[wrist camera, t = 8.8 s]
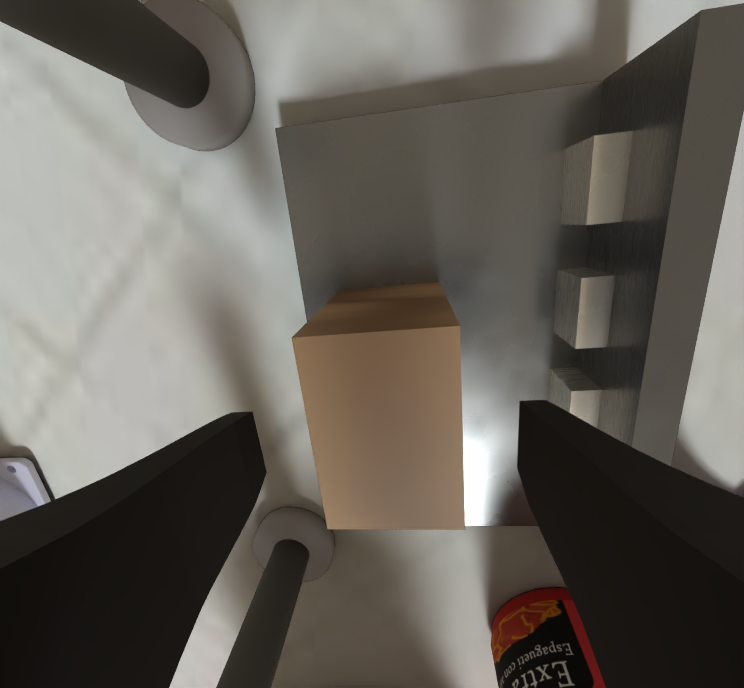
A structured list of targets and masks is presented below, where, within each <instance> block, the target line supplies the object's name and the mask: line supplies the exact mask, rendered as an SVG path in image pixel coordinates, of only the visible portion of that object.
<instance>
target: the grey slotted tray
mask: <svg viewBox="0 0 744 688" xmlns="http://www.w3.org/2000/svg"><path fill="white" fill-rule="evenodd" d="M743 112H744V3H743V4H737V5H730V6H724V7H718V8H712V9H706V10H701V11H700V12H698V13H697V14H695V15H694V16H693V17H691V18H690V19H688V20H687V21H686V22H684V23H683V24H681V25H680V26H679V27H677V28H676V29H675V30H673V31H672V32H670V33H669V34H668V35H666V36H665V37H663V38H662V39H661V40H659V41H658V42H656V43H655V44H654V45H652V46H651V47H649V48H648V49H647V50H645V51H644V52H642V53H641V54H640V55H638V56H637V57H635V58H634V59H633V60H631V61H630V62H629V63H627V64H626V65H624V66H623V67H622V68H620V69H619V70H617V71H616V72H615V73H613V74H612V75H610V76H609V77H608V78H606V79H605V80H603V81H597V82H590V83H583V84H576V85H569V86H563V87H556V88H549V89H542V90H535V91H528V92H521V93H514V94H508V95H501V96H494V97H487V98H480V99H473V100H466V101H459V102H453V103H446V104H439V105H432V106H425V107H418V108H411V109H404V110H398V111H391V112H384V113H377V114H370V115H363V116H356V117H349V118H343V119H336V120H329V121H322V122H315V123H308V124H301V125H294V126H288V127H281V128H275V130H276V136H277V142H278V148H279V155H280V161H281V167H282V173H283V179H284V185H285V191H286V197H287V203H288V209H289V215H290V221H291V227H292V234H293V240H294V246H295V252H296V258H297V264H298V270H299V276H300V282H301V288H302V294H303V300H304V306H305V313H306V319H307V322H308V321H309V320H310V319H311V318H312V317H313V316H314V315H315V314H316V313H317V312H318V311H319V310H320V309H321V308H322V307H323V306H324V305H325V304H326V303H327V302H328V301H329V300H330V299H331V298H332V297H333V296H334V295H335V294H336V293H337V292H338V291H343V290H355V289H366V288H378V287H389V286H401V285H412V284H423V283H435V282H440V284H441V286H442V288H443V291H444V293H445V295H446V297H447V299H448V301H449V303H450V306H451V308H452V310H453V312H454V314H455V316H456V318H457V321H458V323H459V325H460V346H461V383H462V420H463V458H464V495H465V525H469V526H538V524H537V522H536V520H535V517H534V515H533V513H532V511H531V508H530V506H529V504H528V501H527V498H526V495H525V492H524V489H523V486H522V482H521V479H520V476H519V473H518V469H517V455H518V428H519V401H526V400H546V401H549V402H551V403H553V404H555V405H557V406H559V407H560V408H562V409H564V410H566V411H568V412H569V413H571V414H573V415H575V416H576V417H578V418H580V419H582V420H583V421H585V422H587V423H589V424H590V425H592V426H594V427H596V428H598V429H599V430H601V431H603V432H605V433H607V434H608V435H610V436H612V437H614V438H616V439H618V440H619V441H621V442H623V443H625V444H627V445H629V446H631V447H633V448H635V449H636V450H638V451H640V452H643V453H645V454H647V455H649V456H651V457H653V458H655V459H657V460H659V461H661V462H663V463H665V464H667V465H669V466H671V463H672V458H673V453H674V448H675V443H676V438H677V434H678V429H679V424H680V419H681V414H682V409H683V404H684V399H685V395H686V390H687V385H688V380H689V375H690V370H691V365H692V360H693V356H694V351H695V346H696V341H697V336H698V331H699V326H700V321H701V316H702V312H703V307H704V302H705V297H706V292H707V287H708V282H709V277H710V273H711V268H712V263H713V258H714V253H715V248H716V243H717V238H718V234H719V229H720V224H721V219H722V214H723V209H724V204H725V199H726V195H727V190H728V185H729V180H730V175H731V170H732V165H733V160H734V156H735V151H736V146H737V141H738V136H739V131H740V126H741V121H742V116H743Z"/></svg>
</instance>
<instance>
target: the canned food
mask: <svg viewBox="0 0 744 688" xmlns="http://www.w3.org/2000/svg"><path fill="white" fill-rule="evenodd" d="M491 648H492V654H493V659H494V665H495V670H496V675H497V681H498V686H499V688H606V687H605V684H604V681H603V678H602V676H601V673H600V670H599V667H598V665H597V662H596V659H595V656H594V654H593V651H592V648H591V645H590V643H589V640H588V637H587V634H586V632H585V629H584V626H583V623H582V621H581V618H580V616H579V614H578V611H577V609H576V606H575V604H574V602H573V599H572V597H571V595H570V593H569V591H568V589H564V588H545V589H539V590H533V591H530V592H527V593H524V594H521V595H519V596H517V597H515V598H513V599H512V600H510V601H509V602H508V603H506V604H505V605H504V606H503V607H502V608H501V609H500V610H499V612H498V613H497V614H496V616H495V619H494V621H493V627H492V638H491Z"/></svg>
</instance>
